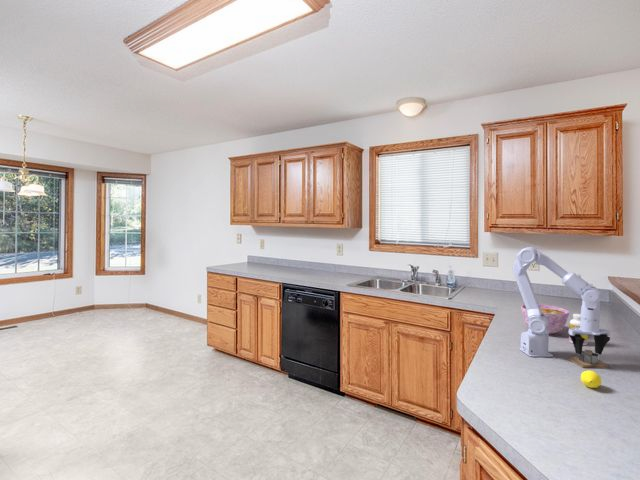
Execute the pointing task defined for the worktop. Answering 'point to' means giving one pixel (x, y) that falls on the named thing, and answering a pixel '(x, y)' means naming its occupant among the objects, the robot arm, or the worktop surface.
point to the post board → (586, 365)
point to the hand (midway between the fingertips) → (588, 353)
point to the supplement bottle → (576, 324)
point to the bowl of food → (550, 317)
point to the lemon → (591, 379)
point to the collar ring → (589, 358)
